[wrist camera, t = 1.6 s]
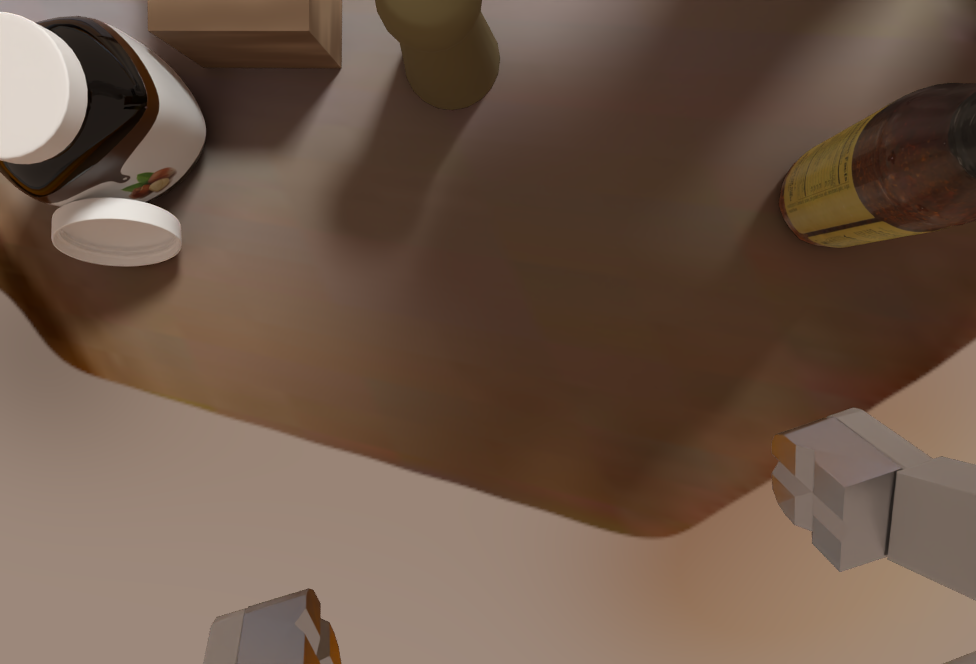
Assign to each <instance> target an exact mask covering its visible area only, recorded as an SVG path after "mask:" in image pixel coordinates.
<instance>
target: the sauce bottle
mask: <svg viewBox="0 0 976 664" xmlns="http://www.w3.org/2000/svg"><path fill="white" fill-rule="evenodd" d="M779 208H780V210H781V213H782V215H783V219H784V220H785V221H786V223H787V225H788V226H789V228H790V229H791V230H792V231H793V232H794V233H795V235H797V237H798V238H799V239H801V240H803V241H805V242H807V243H809V244H814V245H817V246H829V247H836V248H842V247H850V246H855V245H860V244H867V243H872V242H877V241H882V240H888V239H893V238H899V237H904V236H910V235H916V234H922V233H927V232H933V231H939V230H942V229H945V228H948V227H950V226H953V225H963V224H965V223H968V222H972V221H975V220H976V84H962V83H947V84H938V85H934V86H930V87H927V88H923V89H920V90H917V91H914V92H912V93H910V94H908V95H905V96H903V97H902V98H900V99H898V100H896V101H894V102H893V103H891V104H889V105H887V106H886V107H884V108H882V109H880V110H879V111H877V112H875V113H874V114H872V115H870V116H868V117H867V118H865V119H863V120H861V121H860V122H858V123H856V124H854V125H852V126H851V127H849V128H847V129H845V130H843V131H842V132H840V133H839V134H837V135H835V136H833V137H831V138H829V139H828V140H826V141H824V142H822V143H821V144H819V145H817V146H815V147H813V148H812V149H810V150H809V151H808V152H806V153H805V154H804V155H803V156H802V157H801V158H800V159H799V160H798V161H797V162H796V163H794V164H793V165H792V167H791V168H790V170H789V172H788V173H787V175H786V177H785V181H784V182H783V184H782V188H781V193H780V199H779Z"/></svg>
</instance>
